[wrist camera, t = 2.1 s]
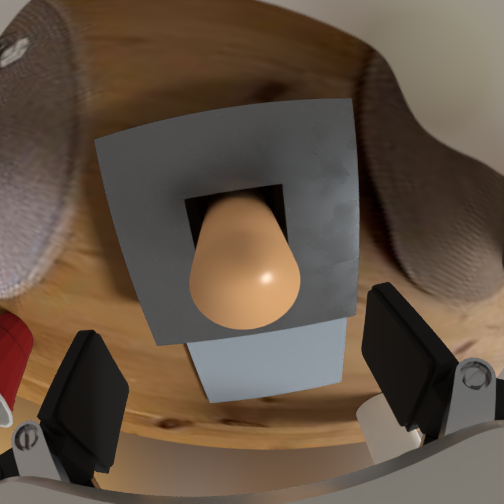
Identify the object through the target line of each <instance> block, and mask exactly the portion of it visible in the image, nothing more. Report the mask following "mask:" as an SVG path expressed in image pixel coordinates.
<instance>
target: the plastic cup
mask: <svg viewBox="0 0 504 504" xmlns="http://www.w3.org/2000/svg"><path fill="white" fill-rule="evenodd" d="M32 346H33V337H32V334H31V332H30V330H29V329H28V327H27V325H26V324H25V323H24V322H23V321H22V320H21V319H20V318H18V317H17V316H16V315H14V314H11V313H4V314H3V315H0V426H2V427H7V428H8V427H9V426H11V425H12V423H13V418H12V411H13V406H14V403H15V397H16V394H17V391H18V388H19V385H20V382H21V379H22V376H23V373H24V371H25V368H26V365H27V360H28V358H29V355H30V353H31V350H32Z"/></svg>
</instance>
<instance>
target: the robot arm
mask: <svg viewBox="0 0 504 504" xmlns="http://www.w3.org/2000/svg"><path fill="white" fill-rule="evenodd" d="M361 349H362V355H363V357H364V359H365V361H366V363H367V365H368V367H369V368H370V370H371V372H372V374H373V376H374V378H375V380H376V381H377V383H378V385H379V387H380V389H381V391H382V393H383V395H384V396H385V398H386V400H387V402H388V404H389V406H390V408H391V410H392V412H393V414H394V416H395V418H396V420H397V422H398V424H399V425H400V426H401V427H403V426H405V428H406V430H407V432H410V431H413V430H415V429H417V428H420V430H421V432H422V434H423V436H422V439H421V443H420V446H419V448H417V449H415V450H412V451H410V452H408V453H405V454H403V455H400V456H398V457H395V458H393V459H390V460H387V461H385V462H382V463H379V464H376V465H374V466H371V467H368V468H365V469H362V470H359V471H356V472H352V473H349V474H346V475H342V476H339V477H336V478H331V479H328V480H324V481H319V482H315V483H311V484H306V485H302V486H297V487H292V488H286V489H280V490H274V491H268V492H260V493H251V494H241V495H231V496H212V497H211V496H210V497H172V496H153V495H141V494H132V493H123V492H116V491H109V490H103V489H101V488H100V486H99V484H98V483H97V481H96V479H95V478H94V476H93V475H94V470H95V471H96V472H101V473H107V474H108V473H109V469H110V467H111V466H112V465H113V463H114V458H115V453H116V448H117V443H118V438H119V433H120V429H121V424H122V419H123V415H124V411H125V406H126V402H127V398H128V394H129V386H128V383H127V382H126V380H125V378H124V377H123V375H122V373H121V372H120V370H119V368H118V367H117V365H116V363H115V361H114V360H113V358H112V356H111V354H110V352H109V351H108V349H107V347H106V345H105V343H104V341H103V339H102V337H101V336H100V335H99V334H97V333H96V332H95V331H94V330H83V331H79V332H78V333H77V334H76V336H75V338H74V340H73V342H72V344H71V346H70V348H69V349H68V351H67V353H66V355H65V357H64V359H63V361H62V363H61V365H60V367H59V369H58V371H57V373H56V375H55V377H54V380H53V382H52V384H51V386H50V388H49V390H48V392H47V395H46V397H45V399H44V401H43V404H42V406H41V408H40V411H39V413H38V415H37V417H38V418H39V420H41V422H40V424H38V423H37V422H35V421H32V420H31V421H25V422H22V423H21V424H20V425H18V426H17V428H16V429H15V430H14V432H13V435H12V439H11V440H12V448H11V449H9V450H7V451H6V452H4V453H3V454H1V455H0V504H504V380H502V379H498V378H496V375H495V371H494V370H493V368H492V366H491V365H490V364H489V363H488V362H486V361H484V360H482V359H479V358H467V359H464V360H463V361H461V362H460V363H459V362H458V361H457V359H456V358H455V356H454V355H453V354H452V353H451V351H450V350H449V349H448V348H447V347H446V345H445V344H444V343H443V342H442V341H441V339H440V338H439V337H438V336H437V335H436V333H435V332H434V331H433V330H432V329H431V328H430V326H429V325H428V324H427V323H426V322H425V321H424V320H423V318H422V317H421V316H420V315H419V314H418V313H417V312H416V310H415V309H414V308H413V307H412V306H411V305H410V304H409V303H408V302H407V300H406V299H405V298H404V297H403V296H402V295H401V294H400V293H399V292H398V291H397V290H396V288H395V287H394V286H393V285H392V284H391V283H389V282H386V283H381V284H377V285H374V286H373V287H372V290H370V291H369V292H368V295H367V306H366V315H365V324H364V333H363V340H362V348H361Z"/></svg>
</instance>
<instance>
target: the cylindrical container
mask: <svg viewBox="0 0 504 504" xmlns="http://www.w3.org/2000/svg"><path fill="white" fill-rule="evenodd" d="M356 417H357V419H358V422H359V425H360V427H361V430H362V432H363V435H364V438H365V440H366V443H367V446H368V448H369V451H370V454H371V456H372V459H373V462H374V465H376V464H379V463H382V462H385V461H387V460H390V459H393V458H395V457H398V456H400V455H403V454H405V453H408V452H410V451H412V450H415V449H417V448H419V446H420V443H421V439H420V437H419V435H418V433H417V431H416V429H415V430H413V431H410V432H407V430H406V428H405V426H403V427H401V426H400V425H399V424H398V422H397V420H396V418H395V416H394V414H393V412H392V410H391V408H390V406H389V404H388V402H387V400H386V398H385V396H384V395H383V393H381V394H378V395H376V396H374V397H372V398H370V399H369V400H367V401H366V402H364V403H363V404H362V405H361V406H360V407H359V408H358V410H357V412H356Z"/></svg>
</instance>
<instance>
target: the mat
mask: <svg viewBox="0 0 504 504" xmlns="http://www.w3.org/2000/svg"><path fill="white" fill-rule="evenodd" d="M346 324H347V317H345V318H341V319H336V320H331V321H327V322H322V323H317V324H312V325H306V326H301V327H296V328H290V329H285V330H279V331H273V332H267V333H260V334H254V335H247V336H240V337H233V338H226V339H218V340H210V341H201V342H192V343H187V346H188V348H189V351H190V354H191V357H192V359H193V362H194V364H195V367H196V370H197V372H198V375H199V377H200V380H201V382H202V385H203V387H204V390H205V392H206V394H207V397H208V399H209V402H210V403H217V402H228V401H237V400H245V399H253V398H260V397H267V396H273V395H279V394H285V393H290V392H296V391H301V390H306V389H311V388H316V387H320V386H325V385H329V384H333V383H337V382H341V378H342V369H343V360H344V349H345V337H346Z"/></svg>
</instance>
